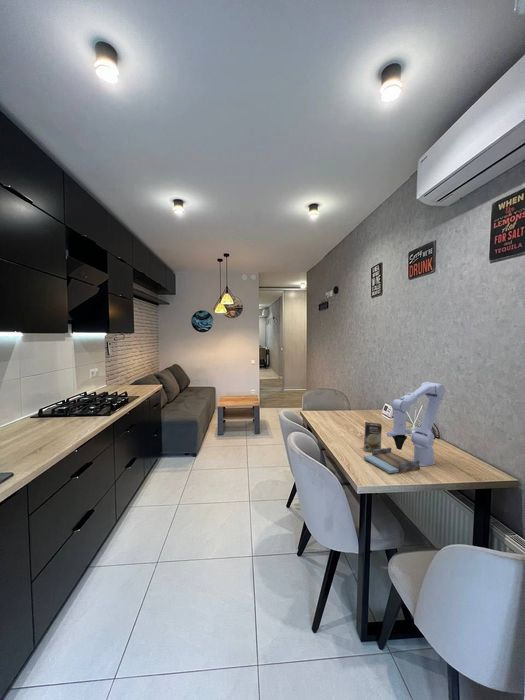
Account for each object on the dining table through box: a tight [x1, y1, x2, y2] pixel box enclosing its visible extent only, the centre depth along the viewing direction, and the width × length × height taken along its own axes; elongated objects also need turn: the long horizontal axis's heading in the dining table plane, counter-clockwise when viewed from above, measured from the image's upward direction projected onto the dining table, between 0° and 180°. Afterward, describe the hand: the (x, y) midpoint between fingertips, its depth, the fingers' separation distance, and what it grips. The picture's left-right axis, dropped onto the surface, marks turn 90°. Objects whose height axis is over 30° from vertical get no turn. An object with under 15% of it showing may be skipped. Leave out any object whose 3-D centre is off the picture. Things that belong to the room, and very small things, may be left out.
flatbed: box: [371, 447, 421, 474], centre depth 159 cm, size 13×20×4 cm, turn 21°
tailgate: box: [363, 454, 399, 474], centre depth 155 cm, size 1×19×6 cm
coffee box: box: [363, 421, 382, 453], centre depth 177 cm, size 9×6×16 cm
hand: (399, 449), depth 153 cm, fingers closed
